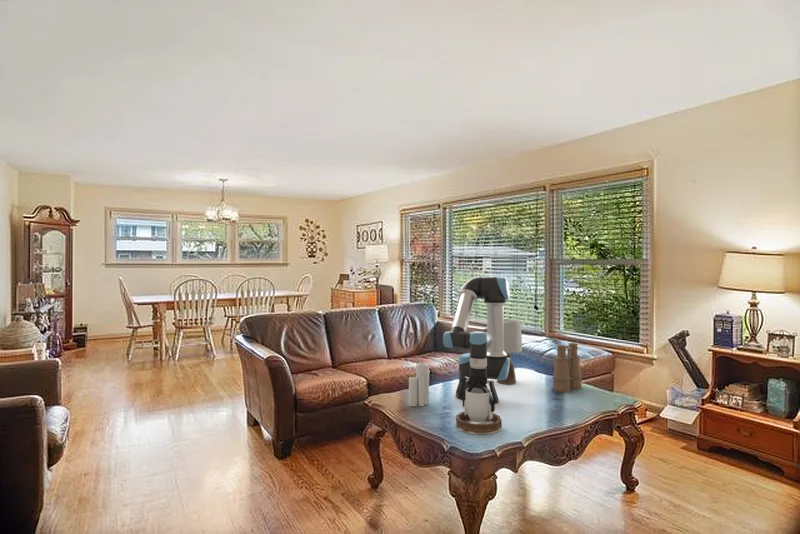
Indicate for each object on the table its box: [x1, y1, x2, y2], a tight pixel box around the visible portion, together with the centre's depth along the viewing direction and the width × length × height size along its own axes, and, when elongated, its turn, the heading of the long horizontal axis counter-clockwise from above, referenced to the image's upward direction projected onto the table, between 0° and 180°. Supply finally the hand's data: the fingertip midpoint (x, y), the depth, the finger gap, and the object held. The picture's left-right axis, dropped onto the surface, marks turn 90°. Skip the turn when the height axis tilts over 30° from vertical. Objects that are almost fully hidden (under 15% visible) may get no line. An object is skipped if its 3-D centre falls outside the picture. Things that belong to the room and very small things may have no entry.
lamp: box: [496, 318, 523, 385], centre depth 282 cm, size 19×19×37 cm
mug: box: [465, 388, 492, 422], centre depth 210 cm, size 15×11×13 cm
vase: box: [408, 362, 430, 407], centre depth 240 cm, size 11×7×20 cm, turn 135°
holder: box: [455, 411, 503, 435], centre depth 209 cm, size 20×20×4 cm
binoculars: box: [551, 342, 583, 393], centre depth 269 cm, size 21×10×25 cm, turn 125°
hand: (478, 416), depth 208 cm, fingers closed on mug, 11 cm apart
